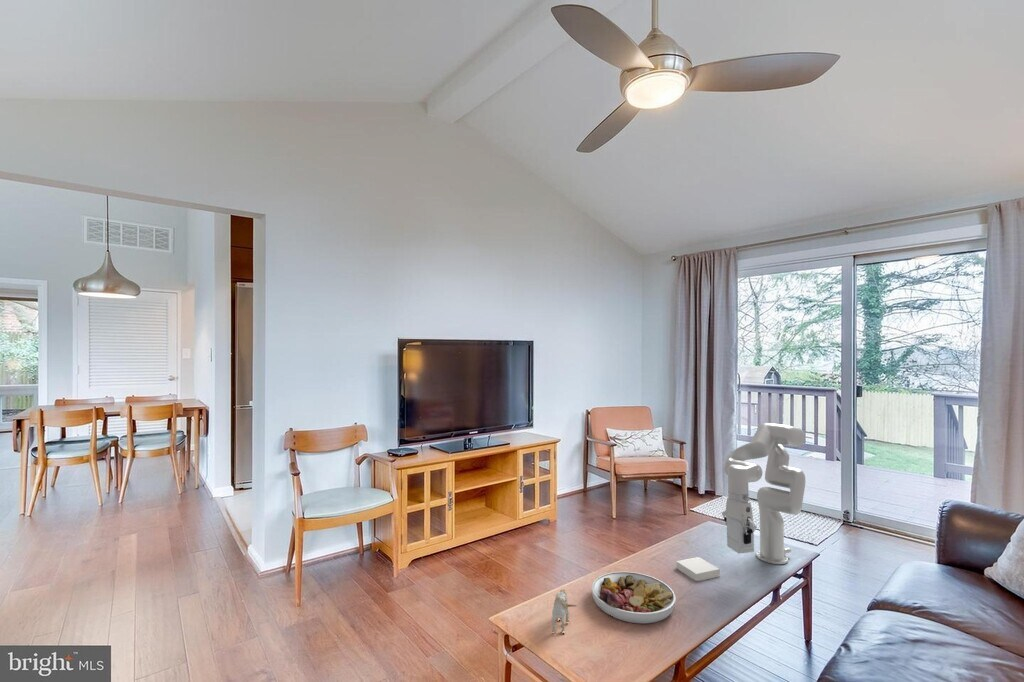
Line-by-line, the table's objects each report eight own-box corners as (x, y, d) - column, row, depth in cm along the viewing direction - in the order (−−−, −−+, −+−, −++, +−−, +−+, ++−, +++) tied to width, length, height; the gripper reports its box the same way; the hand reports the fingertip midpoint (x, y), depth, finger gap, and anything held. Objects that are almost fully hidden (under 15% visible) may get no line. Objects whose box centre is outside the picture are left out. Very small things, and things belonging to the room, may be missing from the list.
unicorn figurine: (554, 648, 145) (554, 606, 146) (547, 613, 165) (547, 575, 165) (576, 648, 146) (576, 605, 146) (567, 613, 165) (567, 575, 165)
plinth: (698, 563, 203) (698, 556, 203) (719, 576, 192) (719, 569, 192) (676, 568, 199) (676, 561, 199) (696, 581, 188) (696, 573, 188)
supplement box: (754, 552, 186) (754, 520, 186) (738, 554, 184) (737, 522, 184) (742, 544, 193) (741, 513, 193) (726, 546, 192) (725, 515, 191)
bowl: (619, 576, 193) (619, 557, 193) (690, 604, 171) (689, 583, 171) (575, 603, 172) (575, 582, 172) (649, 640, 150) (649, 615, 150)
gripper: (763, 501, 182) (764, 546, 182) (728, 488, 198) (729, 529, 198) (748, 504, 179) (749, 549, 179) (714, 491, 195) (715, 532, 195)
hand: (738, 539), depth 188 cm, fingers closed on supplement box, 7 cm apart
